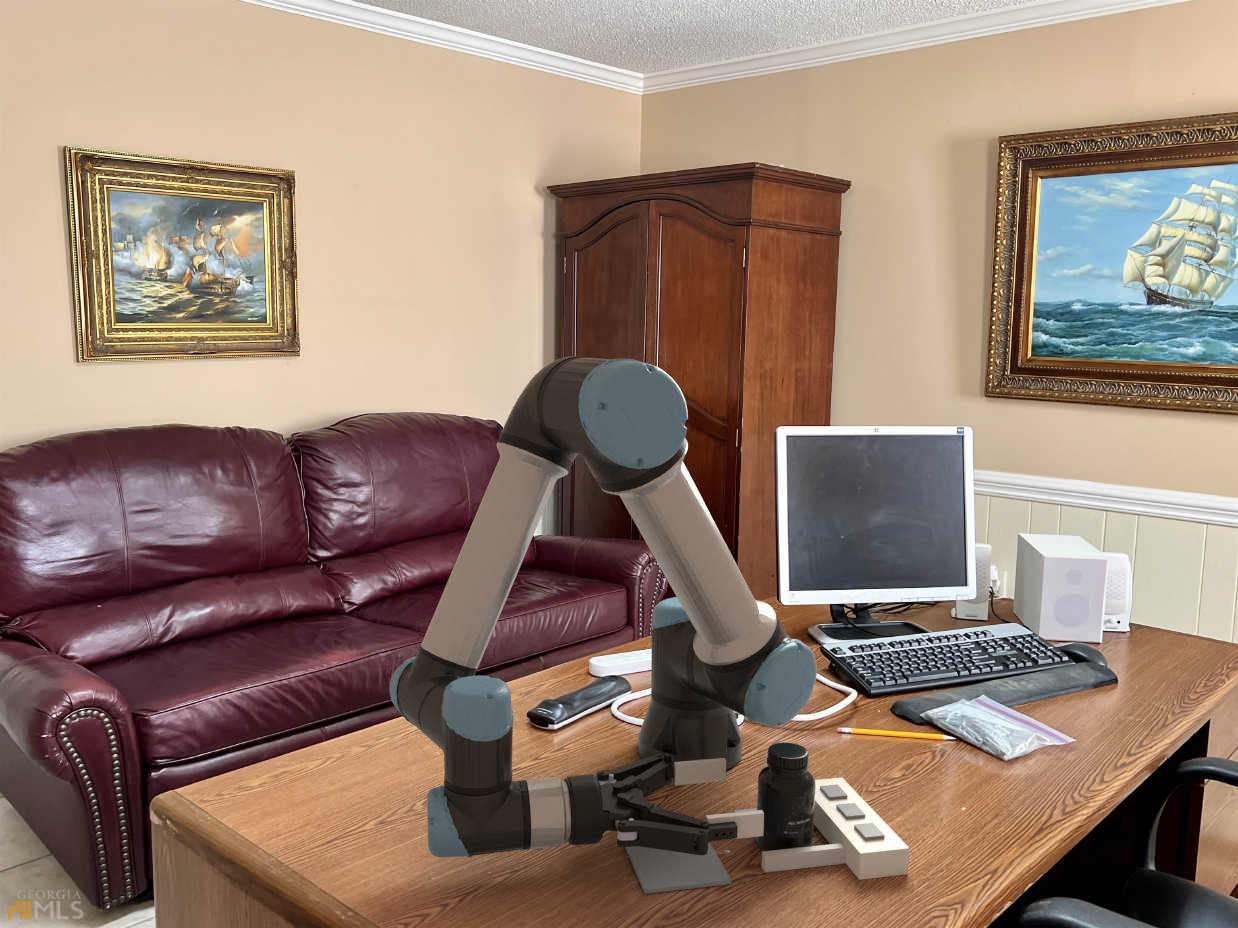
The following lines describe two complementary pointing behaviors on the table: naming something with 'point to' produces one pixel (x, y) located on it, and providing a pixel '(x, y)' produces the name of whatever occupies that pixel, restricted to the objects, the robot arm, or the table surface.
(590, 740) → the table surface
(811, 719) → the table surface
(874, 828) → the power strip dock
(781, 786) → the supplement bottle
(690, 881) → the rubber mat
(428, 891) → the table surface
